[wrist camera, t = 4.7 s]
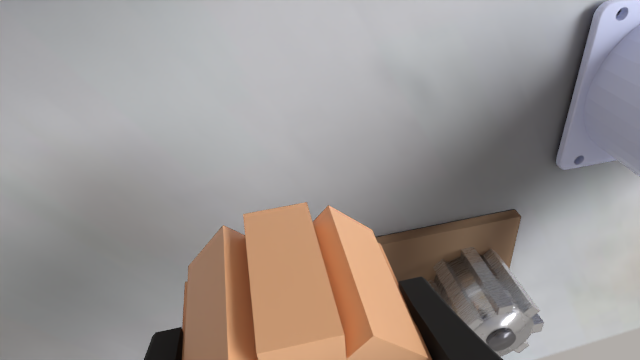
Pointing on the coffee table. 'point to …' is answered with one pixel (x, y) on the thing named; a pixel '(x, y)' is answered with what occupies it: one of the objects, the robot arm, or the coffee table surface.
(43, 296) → the coffee table surface
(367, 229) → the idler gear
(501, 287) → the gear
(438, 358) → the robot arm
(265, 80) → the coffee table surface
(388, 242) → the gear board
